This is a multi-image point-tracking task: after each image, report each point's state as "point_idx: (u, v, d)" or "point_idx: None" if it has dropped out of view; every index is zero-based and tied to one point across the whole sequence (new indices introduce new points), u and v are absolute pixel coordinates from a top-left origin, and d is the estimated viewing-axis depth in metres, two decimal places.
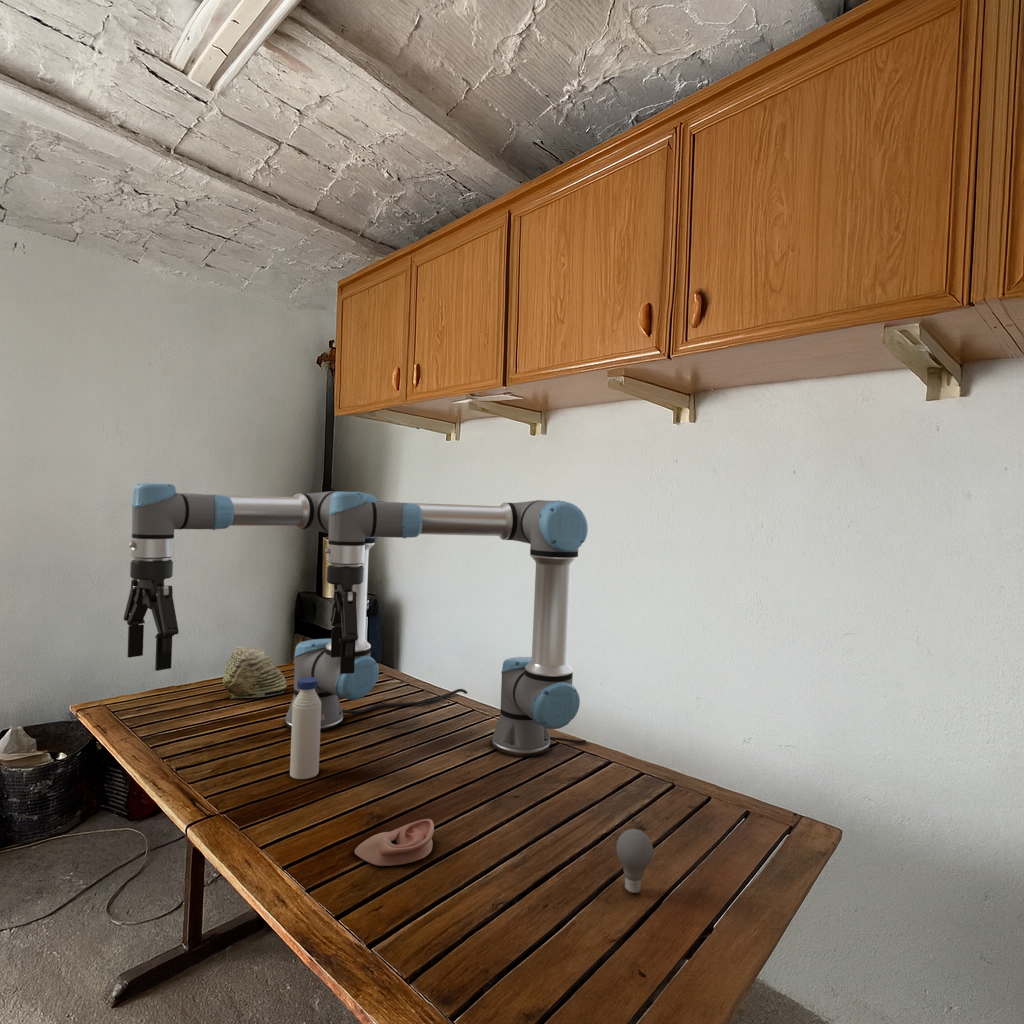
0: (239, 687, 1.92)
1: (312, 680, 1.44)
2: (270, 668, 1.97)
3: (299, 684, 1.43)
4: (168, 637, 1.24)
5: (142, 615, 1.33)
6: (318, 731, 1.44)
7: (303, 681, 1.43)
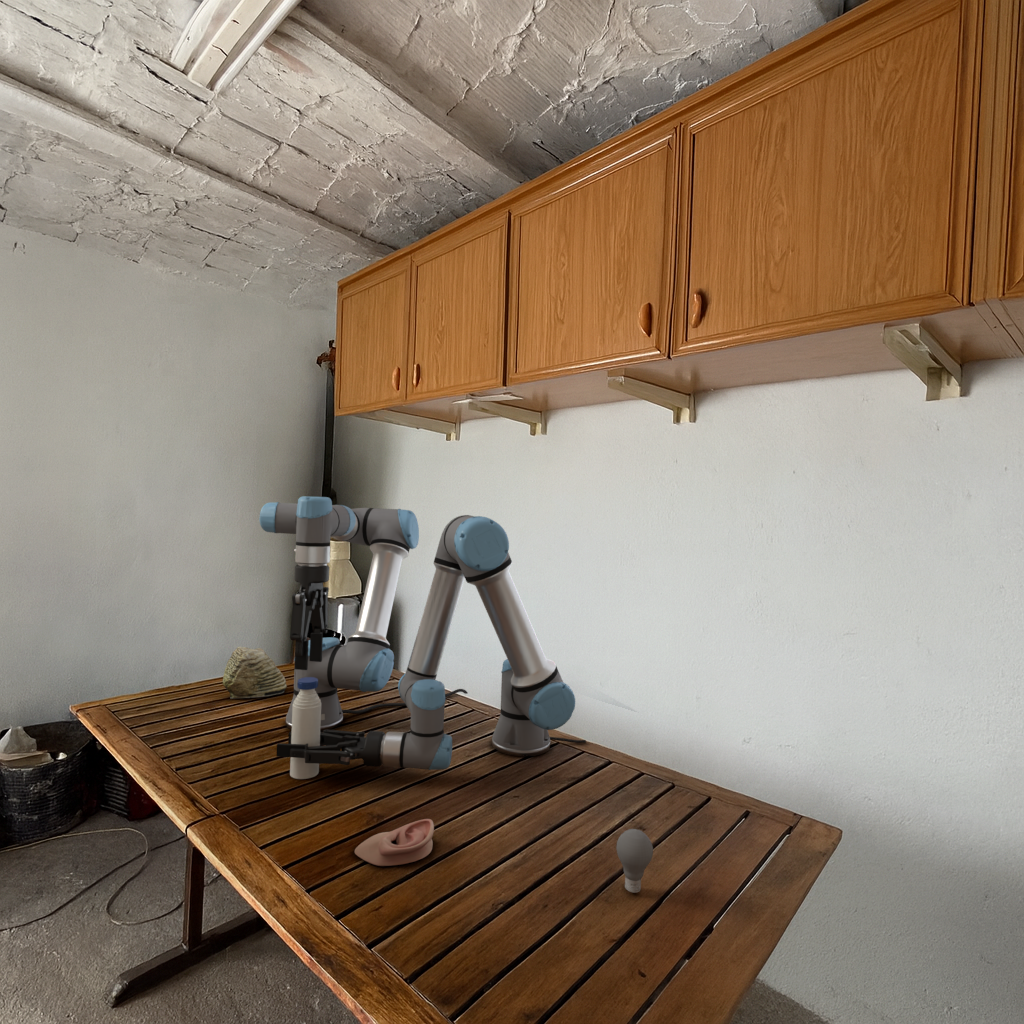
0: (239, 687, 1.92)
1: (312, 680, 1.44)
2: (270, 668, 1.97)
3: (299, 684, 1.43)
4: (298, 641, 1.39)
5: (319, 621, 1.47)
6: (318, 731, 1.44)
7: (303, 681, 1.43)
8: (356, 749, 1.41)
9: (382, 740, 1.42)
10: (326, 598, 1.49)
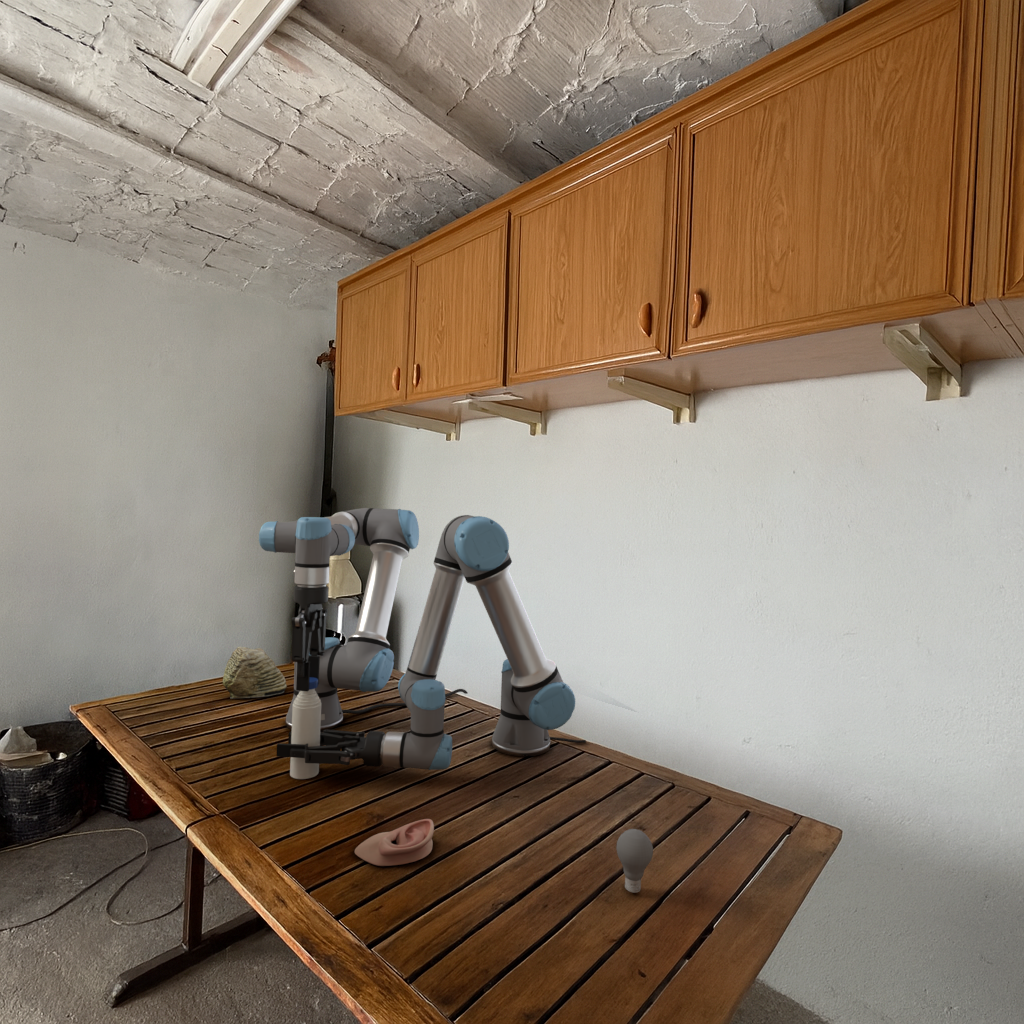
0: (239, 687, 1.92)
1: (312, 680, 1.44)
2: (270, 668, 1.97)
3: None
4: (300, 663, 1.40)
5: (316, 643, 1.46)
6: (318, 731, 1.44)
7: None
8: (356, 749, 1.41)
9: (382, 740, 1.42)
10: (325, 620, 1.49)
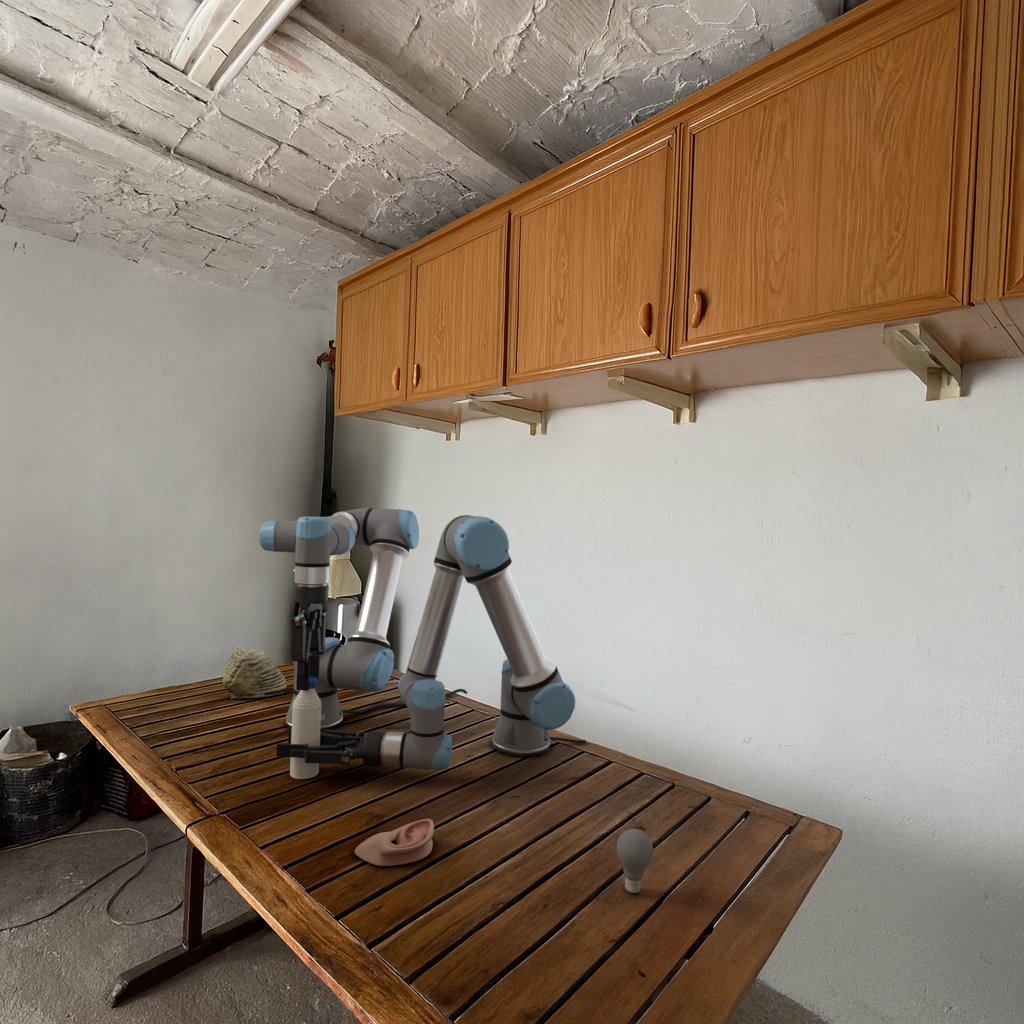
0: (239, 687, 1.92)
1: None
2: (270, 668, 1.97)
3: (315, 683, 1.44)
4: (300, 662, 1.40)
5: (316, 643, 1.46)
6: (318, 731, 1.44)
7: (315, 679, 1.44)
8: (356, 749, 1.41)
9: (382, 740, 1.42)
10: (324, 619, 1.49)
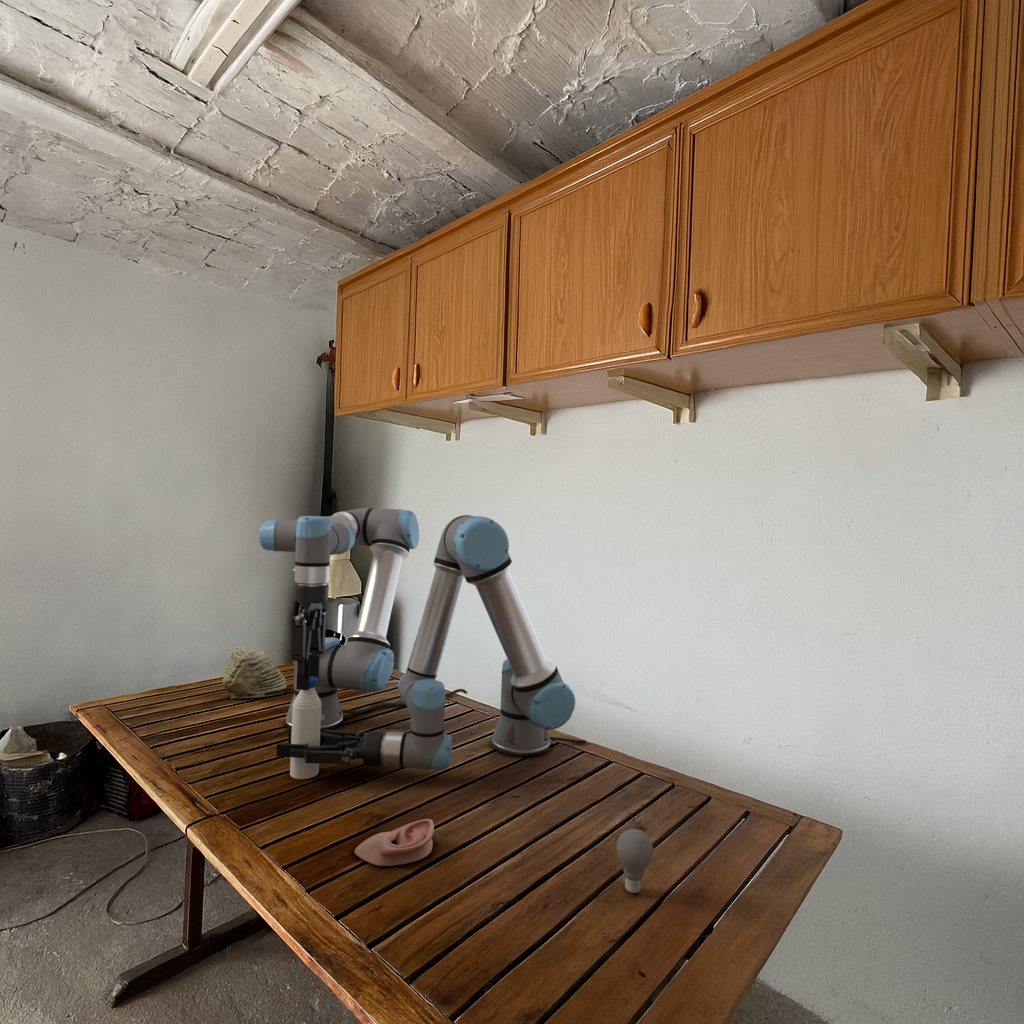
0: (239, 687, 1.92)
1: None
2: (270, 668, 1.97)
3: None
4: (300, 661, 1.40)
5: (316, 642, 1.46)
6: (318, 731, 1.44)
7: None
8: (356, 749, 1.41)
9: (382, 740, 1.42)
10: (324, 618, 1.49)
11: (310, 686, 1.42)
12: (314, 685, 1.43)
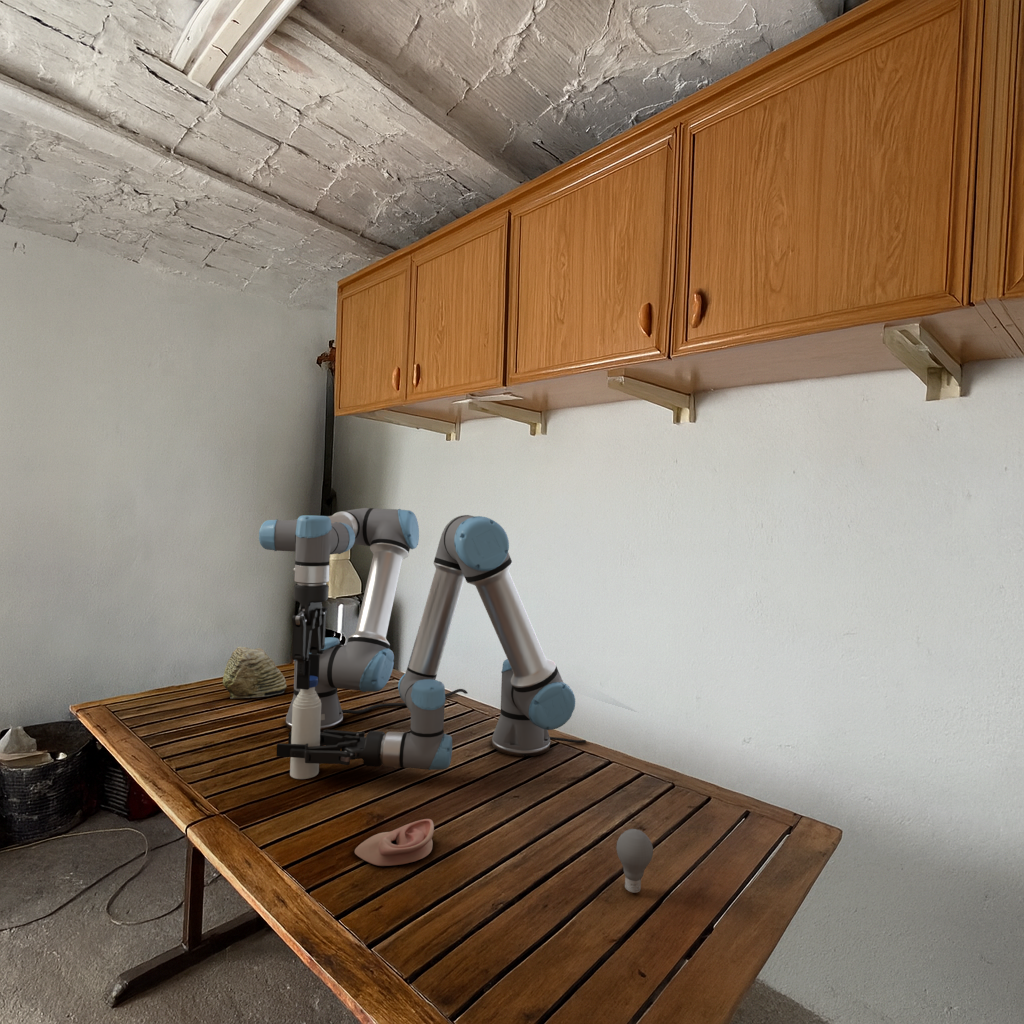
0: (239, 687, 1.92)
1: None
2: (270, 668, 1.97)
3: None
4: (300, 661, 1.40)
5: (316, 641, 1.46)
6: (318, 731, 1.44)
7: None
8: (356, 749, 1.41)
9: (382, 740, 1.42)
10: (324, 618, 1.49)
11: None
12: None
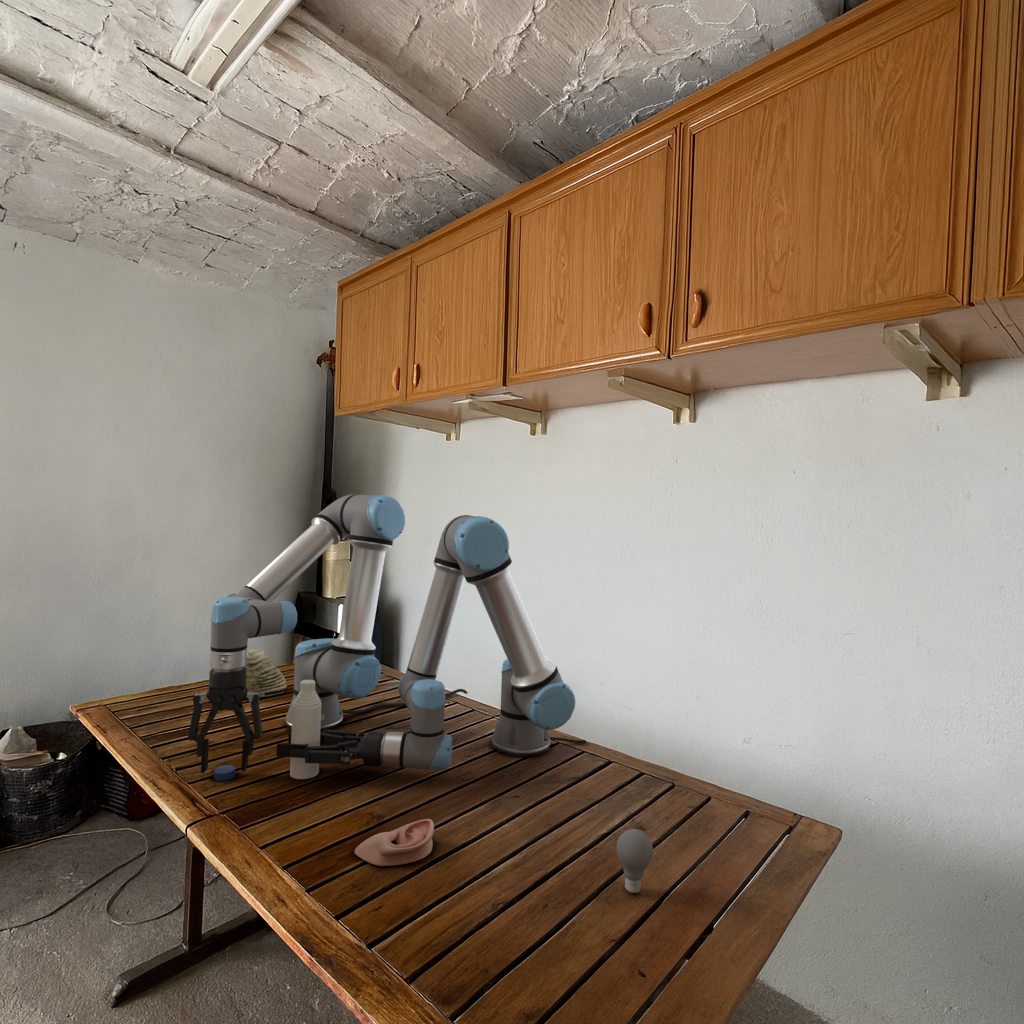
0: None
1: (229, 767, 1.42)
2: (270, 668, 1.97)
3: (226, 775, 1.39)
4: (253, 739, 1.42)
5: (209, 727, 1.41)
6: (318, 731, 1.44)
7: (228, 771, 1.40)
8: (356, 749, 1.41)
9: (382, 740, 1.42)
10: None
11: None
12: None
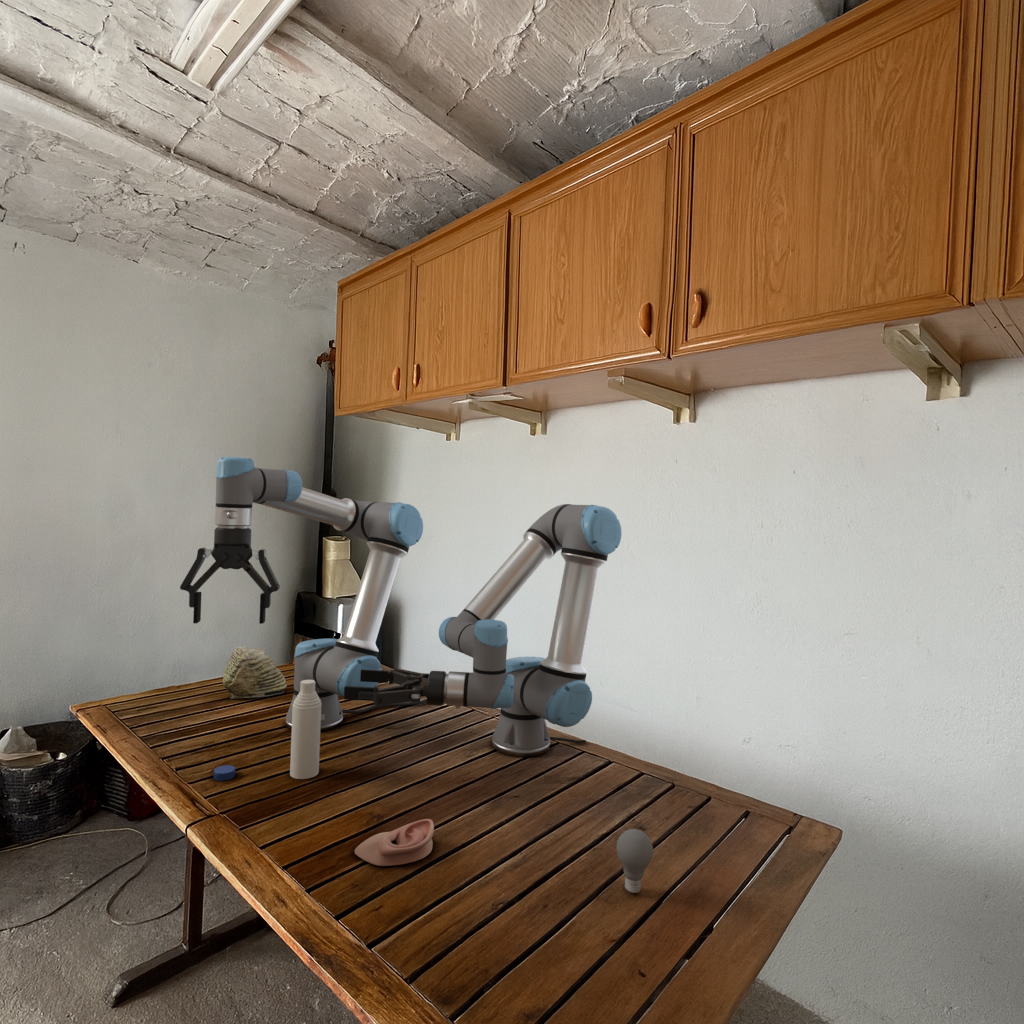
0: (239, 687, 1.92)
1: (229, 767, 1.42)
2: (270, 668, 1.97)
3: (226, 775, 1.39)
4: None
5: (204, 582, 1.40)
6: (318, 731, 1.44)
7: (228, 771, 1.40)
8: (421, 687, 1.40)
9: (445, 678, 1.42)
10: None
11: None
12: None
